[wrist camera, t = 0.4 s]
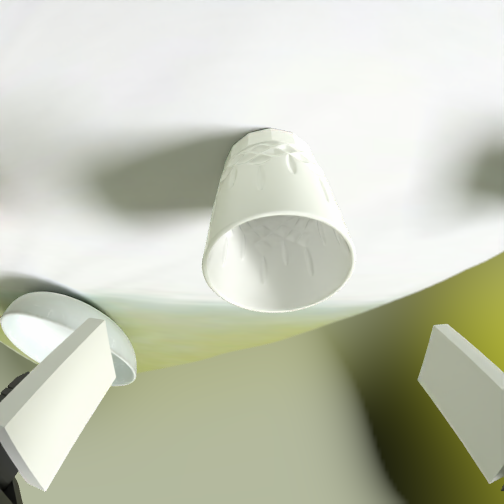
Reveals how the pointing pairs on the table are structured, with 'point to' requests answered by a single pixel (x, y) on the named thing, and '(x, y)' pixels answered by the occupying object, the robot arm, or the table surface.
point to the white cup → (275, 228)
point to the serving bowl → (62, 329)
